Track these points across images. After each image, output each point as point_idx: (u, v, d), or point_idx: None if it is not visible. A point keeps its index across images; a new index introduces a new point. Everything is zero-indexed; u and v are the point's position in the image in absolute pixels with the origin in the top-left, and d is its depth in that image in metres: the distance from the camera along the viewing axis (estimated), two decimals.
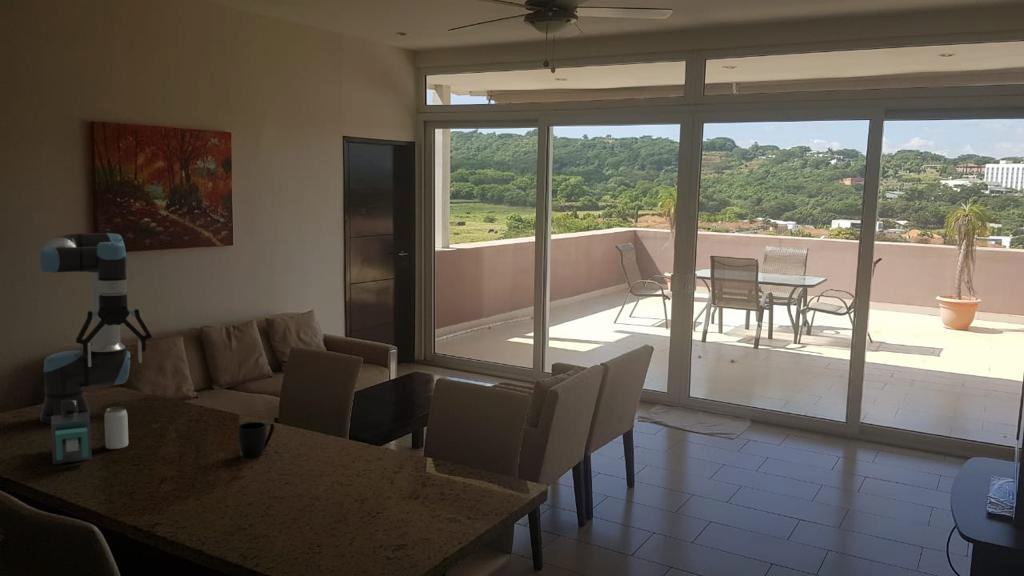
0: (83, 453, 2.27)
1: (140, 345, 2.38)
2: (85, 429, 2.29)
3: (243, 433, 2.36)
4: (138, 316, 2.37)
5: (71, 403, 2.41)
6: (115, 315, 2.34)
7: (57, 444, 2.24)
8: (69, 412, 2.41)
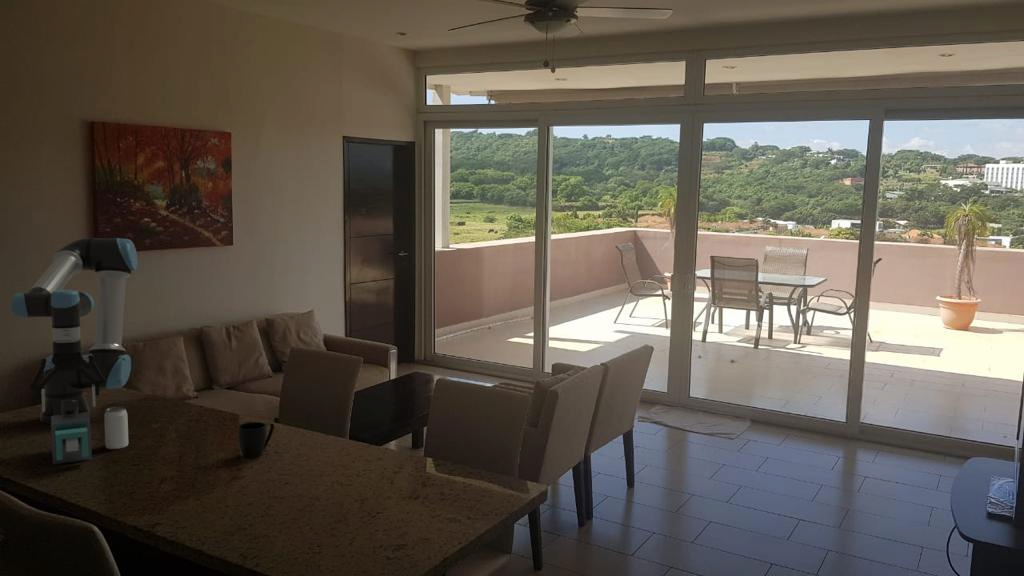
0: (83, 453, 2.27)
1: (94, 390, 2.44)
2: (85, 429, 2.29)
3: (243, 433, 2.36)
4: (92, 361, 2.44)
5: (71, 403, 2.41)
6: (69, 361, 2.40)
7: (57, 444, 2.24)
8: (69, 412, 2.41)
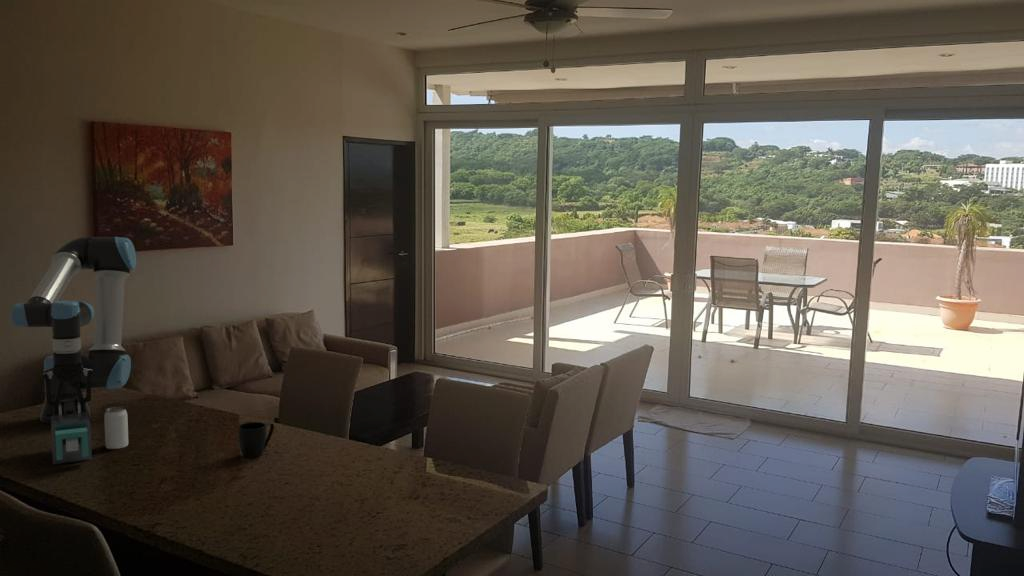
0: (83, 453, 2.27)
1: (79, 408, 2.43)
2: (85, 429, 2.29)
3: (243, 433, 2.36)
4: (89, 377, 2.44)
5: (71, 403, 2.41)
6: (70, 370, 2.41)
7: (57, 444, 2.24)
8: (69, 412, 2.41)
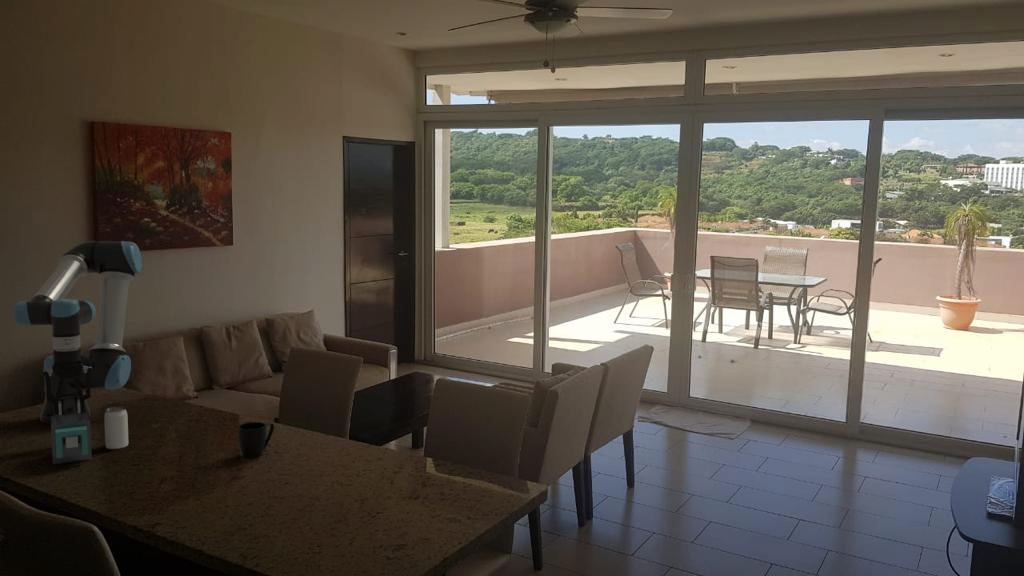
0: (83, 451, 2.29)
1: (79, 405, 2.46)
2: (85, 427, 2.30)
3: (243, 433, 2.36)
4: (88, 374, 2.47)
5: (71, 400, 2.44)
6: (69, 368, 2.44)
7: (57, 442, 2.25)
8: (69, 409, 2.44)
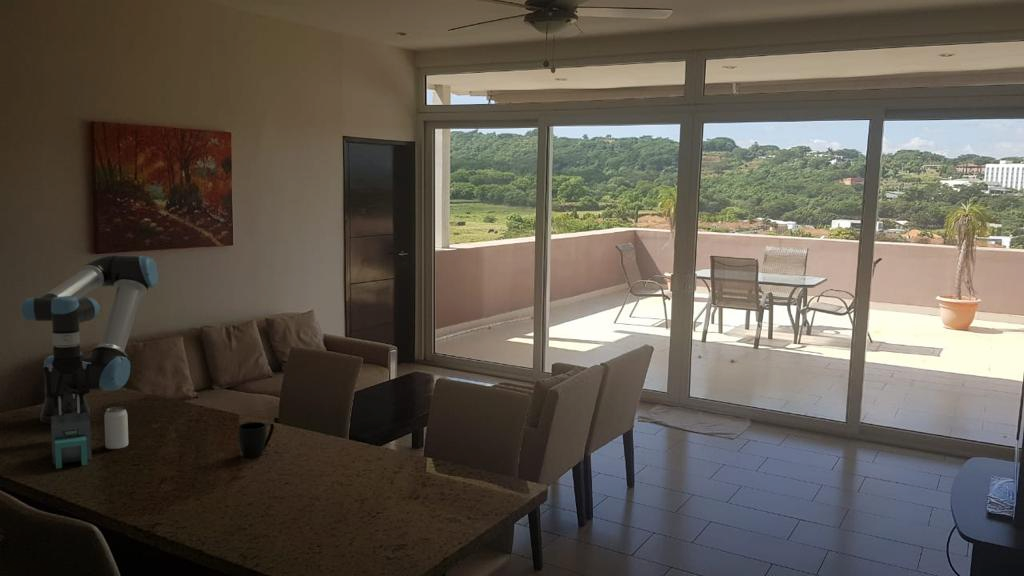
0: (82, 462, 2.29)
1: (78, 400, 2.53)
2: (84, 438, 2.30)
3: (243, 433, 2.36)
4: (87, 370, 2.53)
5: (70, 395, 2.50)
6: (69, 363, 2.50)
7: (56, 453, 2.25)
8: (68, 404, 2.50)
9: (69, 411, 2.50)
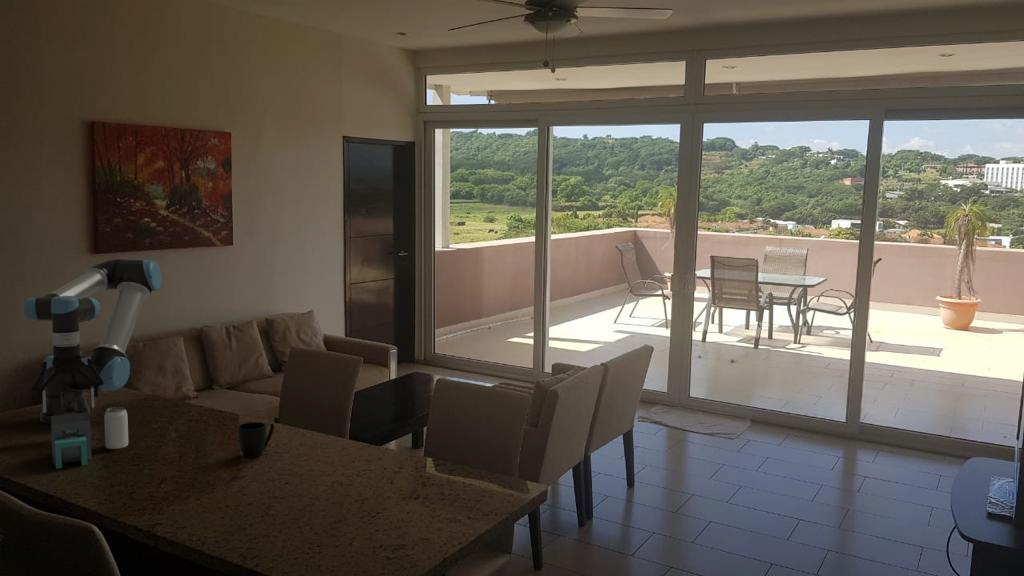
0: (82, 462, 2.29)
1: (92, 391, 2.55)
2: (84, 438, 2.30)
3: (243, 433, 2.36)
4: (90, 364, 2.54)
5: (70, 395, 2.51)
6: (68, 364, 2.51)
7: (56, 453, 2.25)
8: (68, 403, 2.51)
9: (69, 410, 2.51)
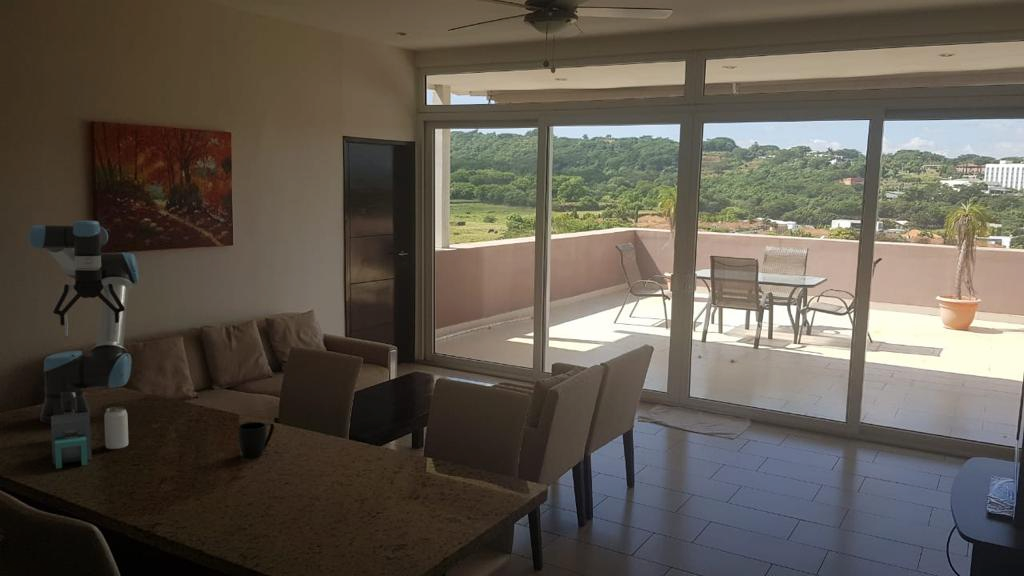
0: (82, 462, 2.29)
1: (113, 317, 2.56)
2: (84, 438, 2.30)
3: (243, 433, 2.36)
4: (112, 290, 2.55)
5: (70, 395, 2.51)
6: (90, 288, 2.52)
7: (56, 453, 2.25)
8: (68, 403, 2.51)
9: (69, 410, 2.51)
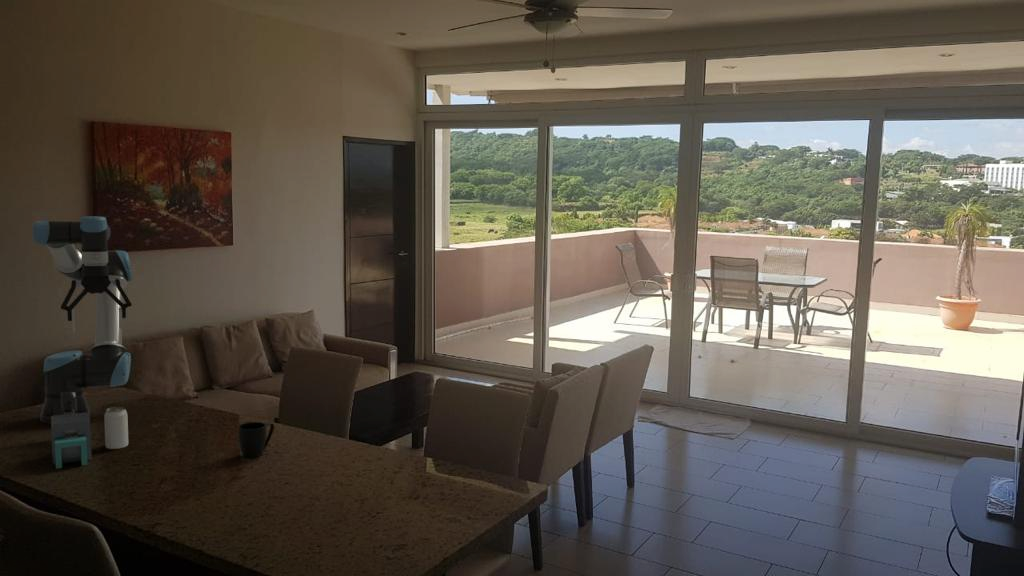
0: (82, 462, 2.29)
1: (121, 312, 2.57)
2: (84, 438, 2.30)
3: (244, 433, 2.36)
4: (119, 285, 2.56)
5: (70, 395, 2.51)
6: (97, 284, 2.53)
7: (56, 453, 2.25)
8: (68, 403, 2.51)
9: (69, 410, 2.51)
